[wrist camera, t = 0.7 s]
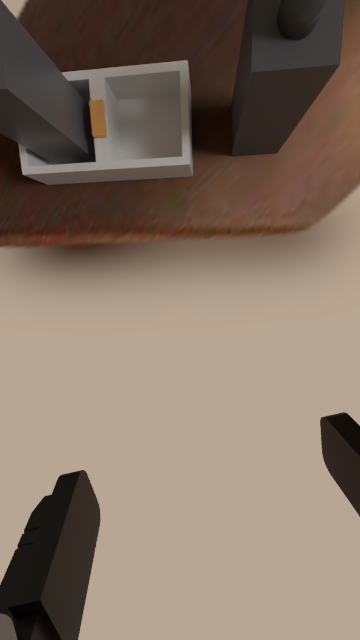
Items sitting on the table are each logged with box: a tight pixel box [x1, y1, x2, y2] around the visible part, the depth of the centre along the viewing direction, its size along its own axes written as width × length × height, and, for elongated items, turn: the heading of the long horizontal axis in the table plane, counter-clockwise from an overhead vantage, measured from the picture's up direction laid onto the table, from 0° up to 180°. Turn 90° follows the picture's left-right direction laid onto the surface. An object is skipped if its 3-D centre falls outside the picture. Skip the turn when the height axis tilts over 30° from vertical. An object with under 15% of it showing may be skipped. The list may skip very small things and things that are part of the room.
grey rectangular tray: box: [18, 60, 193, 185], centre depth 25 cm, size 14×7×5 cm, turn 92°
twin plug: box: [0, 0, 96, 165], centre depth 20 cm, size 4×4×15 cm
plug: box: [231, 0, 345, 156], centre depth 19 cm, size 4×4×15 cm
